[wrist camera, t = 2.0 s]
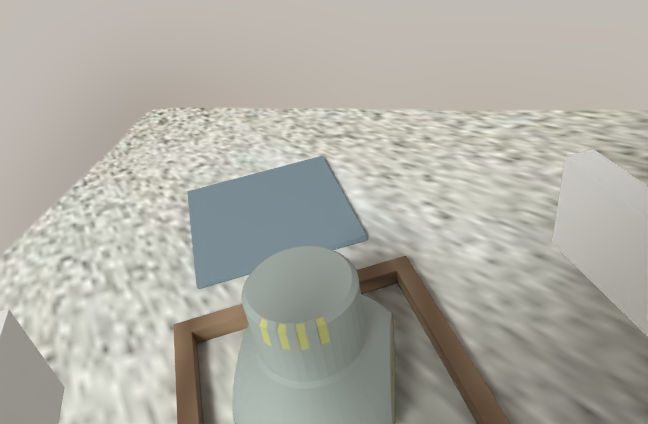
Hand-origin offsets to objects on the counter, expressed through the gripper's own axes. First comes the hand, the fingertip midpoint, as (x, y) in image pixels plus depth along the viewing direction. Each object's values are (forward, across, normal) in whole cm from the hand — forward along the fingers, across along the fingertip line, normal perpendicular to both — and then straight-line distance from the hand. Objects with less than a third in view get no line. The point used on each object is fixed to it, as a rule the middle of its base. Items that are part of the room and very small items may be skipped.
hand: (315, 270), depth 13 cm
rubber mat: (+30, 0, -19) cm, 35 cm away
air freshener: (+10, 0, -20) cm, 22 cm away
